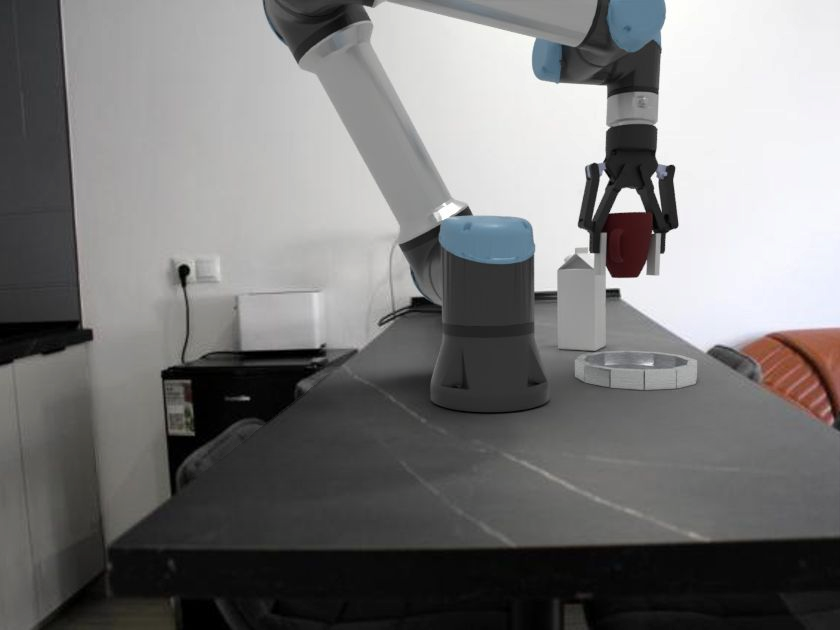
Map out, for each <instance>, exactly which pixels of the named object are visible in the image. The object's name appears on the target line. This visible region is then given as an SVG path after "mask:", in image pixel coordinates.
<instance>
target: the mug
mask: <svg viewBox="0 0 840 630" xmlns="http://www.w3.org/2000/svg"><path fill="white" fill-rule="evenodd" d="M652 229H653V214H652V212H646V211H631V212H627V211H626V212H610V213H609V215H608V217H607V219H606V222H605V224H604V226H603V228H602V230H601V233H607V240H606V269H607V271H608V273H609V275H610V276H611V278H612V279H634V278H638V277H639V276H640V274H641V273H642V271H643V269H644V267H645V265H646V264H647V257H648V252H649V246H650V241H651V236H652V234H653V230H652Z"/></svg>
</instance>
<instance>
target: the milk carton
mask: <svg viewBox="0 0 840 630" xmlns="http://www.w3.org/2000/svg"><path fill="white" fill-rule="evenodd" d="M563 261H564V263H563V264H562V265H561V266H560V267H559V268H558V269H557V271H556V273H557V274H556V275H557V276H556V278H557V279H556V280H557V282H556V283H557V290H556V291H557V295H556V296H557V301H556V302H557V309H556V312H557V350H570V351H571V350H572V351H587V352H589V351H591V352H596V351H598V350H600V349H602V348H604V347H605V346H607V345H606V344H607V343H606V339H607V335H606V333H607V332H606V331H607V329H606V328H607V327H606V325H607V324H606V323H607V321H606V320H607V319H606V318H607V311H606V310H607V307H606V304H607V299H606V298H607V295H606V294H607V293H606V292H607V288H606V287H607V285H606V283H607V276H606V275H607V272H606V271H607V270H605V275H594V256H592V255H591V253H590V252H589V247H586V246H585V247H575V248H574V253H570V254H568V255H567V256H566V257H564V259H563Z"/></svg>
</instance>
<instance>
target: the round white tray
mask: <svg viewBox="0 0 840 630" xmlns="http://www.w3.org/2000/svg"><path fill="white" fill-rule="evenodd" d="M574 377H575V378H576V379H578V380H579V381H581V382H583V383H585V384H590V385H595V386H598V387H599V386H600V387H603V388H605V387H606V388H611V389H622V390H623V389H624V390H640V391H652V390H671V389H672V390H673V389H674V390H676V389H681V388H684V387H689V386H693V385H696V384H697V380H698V360H697V359H695V358H691V357H688V356H685V355H682V354H677V353H675V354H674V353H669V352H668V353H666V352H660V351H642V350H641V351H640V350H616V351H615V350H613V351H609V350H608V351H597V352H596V351H595V352H592V353H591V352H589V353H584V354H580V355H579V356H578V357H576V358H575V359H574Z"/></svg>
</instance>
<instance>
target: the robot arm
mask: <svg viewBox="0 0 840 630" xmlns="http://www.w3.org/2000/svg"><path fill="white" fill-rule="evenodd" d="M384 2H388V3H391V4H395V5H398V6H399V5H400V6H403V7H407V8H408V7H409V8H413V9H415V10H416V9H417V10H420V11H424V12H429V13H432V14H437V15H441V16H446V17H449V18H453V19H457V20H462V21H464V22H465V21H466V22H469V23H473V24H477V25H482V26H486V27H490V28H494V29H499V30H503V31H507V32H511V33H514V34H519V35H522V36H527V37H531V38H535V40H534V43H533V48H532V52H531V68H532V71H533V74H534V76H535V78H536V79H538V80H540V81H542V82H543V81H544V82H549V83H554V84H556V85H558V84H572V85H573V84H574V85H587V86H588V85H591V86H592V85H593V86H603V87H604V86H606V95H607V96H606V115H605V116H606V117H605V118H606V120H605V125H606V126H607V128H608V129H607V130H606V131H605V150H604V151H605V157H604V160H603V161H602V162H599V163H597V162H592V163H589V164H587V165H586V166H585V167H584V172H585V173H584V174H585V185H584V191H583V196H582V200H581V201H582V202H581V204H580V205H581V206H580V211H579V216H578V221H577V227H578V228H579V229H581V230H582V229H583V230H585V231H586V232H587V233H588V234H589V236H588V237H589V238H588V239H589V240H588V241H589V243H588V244H589V245H588V246H589V247H588V252H589V254H593V255H594V256H593V258H594V275H605V270H606V269H607V267H606V240H607V233H601V230H602V228H603V226H604V224H605V222H606V219H607V217H608V215H609V213H611V210H612V208H613V206H614V204H615V201H616V200H617V198H618V195H619V193H620V192H621V191H622V190H623V189H631V190H635V192H636V193H637V195H638V196H639V198H640V200H641V202H642V207H643V208H644V212H652V214H653V229H652V236H651V241H650V246H649V252H648V257H647V261H646V271H645V273H646V276H657V277H658V276H660V266H661V265H660V264H661V262H660V261H661V254H662V255H664V254H665V253H666V238H667V233H669V232H670V231H673V230H676V229H678V228H679V224H680V223H679V217H678V216H679V215H678V208H677V200H676V199H677V198H676V191H675V183H674V182H675V181H674V178H675V174H676V173H675V172H676V165H674V164H668V165H666V164H661V163H659V162H658V160H657V158H656V157H657V156H656V154H657V150H658V149H657V148H658V127H657V126H656V124H657V123H658V121H659V100H660V99H659V98H660V97H659V95H660V94H659V93H660V92H659V90H660V80H661V79H660V78H661V77H660V74H661V60H662V59H661V58H662V51H663V49H662V32H661V31H662V29H663V27H664V25H665V21H666V17H667V16H666V14H667V6H666V1H665V0H262V7H263V11H264V15H265V18H266V20H267V23H268V25H269V27H270V29H271V30H272V32H273V33H274V35H275V36H276V38H278V40H279V41H280V42H281V43H283V44H284V45H285V46H286V47H287V48H288V50H289V51H290V53H291V54H292V56H293V59H294V60H295V61H296V62H295V63H297V65H298V67H299V69H300V70H302V71H306V72H309V73H312V74H314V75H316V78H317V79H318V81H319V82H320V84H321V86H322V87H323V89H324V91H325V94H326V95H327V96H328V98H329V100H330V102H331V104H332V106H333V107H334V110H335V111H336V113H337V114H338V117H339V118H340V120H341V122H342V124H343V126H344V127H345V130H346V131H347V133H348V134H349V136H350V138H351V140H352V142H353V144H354V146H355V147H356V149H357V151H358V153H359V155H360V157H361V158H362V160H363V162H364V164H365V165H366V167H367V169H368V171H369V172H370V175H371V177H372V178H373V180H374V181H375V183H376V185H377V188H378V190H379V191H380V193H381V195H382V196H383V198H384V200H385V202H386V203H387V205H388V207H389V209H390V211H391V212H392V215H393V216H394V217H395V220H396V221H397V224H398V225H399V233H398V237H397V241H396V243H397V245H398V247H399V249H400V250H401V252H402V254H403V255H404V258H405V259H406V261H407V263H408V265H409V272H410V277H411V279H412V282H413V285H414V286H415V288H416V289H417V291H418V292H419V294H421V295H422V296H423V297H424V298H425V299H426V300H428V301H429V302H431V303H433V305H437V306H439V307H441V323H442V325H441V326H442V340H441V345H440V348H439V352H438V356H437V358H436V362H435V366H434V369H433V372H432V376H431V379H430V385H429V386H430V390H429V391H430V401H431V402H432V403H433V404H435V405H436V406H440V407H443V408H446V409H449V410H450V409H451V410H456V411H464V412H475V413H477V412H478V413H503V412H514V411H515V412H516V411H522V410H523V411H524V410H528V409H532V408H536V407H541V406H543V405H545V404H546V403H548V401H549V400H550V380H549V378H548V375H547V371H546V369H545V365H544V362H543V360H542V356H541V354H540V350H539V348H538V344H537V341H536V334H535V253H536V244H535V240H534V229H533V226H532V224H531V222H530V221H529V220H527V219H525V218H523V217H517V216H510V215H509V216H507V215H506V216H502V215H474V214H473V212H472V210H471V208H470V206H469V205H468V203H467V202H463V201H460V200H458V199H455V198H453V197H452V195H451V193H450V192H449V191H450V190H449V189H448V187H447V185H446V183H445V181H444V180H443V178H442V176H441V173H440V172H439V171H438V168H437V167H436V165H435V163H434V161H433V159H432V157H431V155H430V153H429V151H428V149H427V147H426V146H425V144H424V142H423V139H422V138H421V136H420V134H419V132H418V130H417V129H416V127H415V125H414V123H413V121H412V119H411V118H410V115H409V114H408V111H407V110H406V108H405V106H404V104H403V102H402V100H401V99H400V96H399V94H398V93H397V90H396V89H395V87H394V86H393V83H392V81H391V79H390V78H389V76H388V74H387V72H386V70H385V68H384V66H383V65H382V63H381V60H380V58H379V57H378V55H377V52H376V51H375V49H374V48H373V45H372V44H371V37H372V34H373V31H374V24H373V22H372V19H371V18H370V16H369V14H368V12H367V10H366V9H365V7H368V8H372V9H373V8H376V7H378V6H379V5H381V4H382V3H384ZM603 172H605V175H606V176H607V177H608V179H609V180H608V182H607V184H606V186H605V189H604V193H603V195H602V198H601V200H600V202H599V204H598V206H597V208H596V211H595V207H596V201H597V196H598V193H599V192H598V191H599V187H600V181H601V179H600V178H601V177H602V176H603ZM655 173H656V174H655ZM654 174H655V175H656V176H655V177H656V178H657V179H658V183H657V184H658V192H659V199H660V201H658V198H657V195H656V193H655V186H654V183H653V181H652V177H653V176H654ZM659 202H660V204H659ZM594 211H595V212H594ZM606 271H607V270H606Z"/></svg>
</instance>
